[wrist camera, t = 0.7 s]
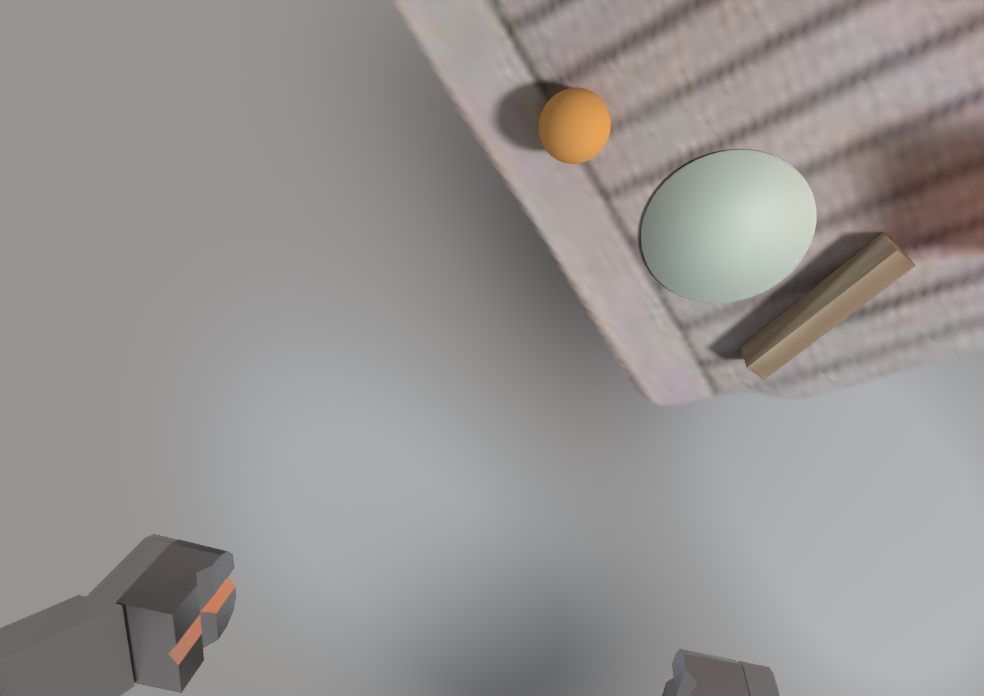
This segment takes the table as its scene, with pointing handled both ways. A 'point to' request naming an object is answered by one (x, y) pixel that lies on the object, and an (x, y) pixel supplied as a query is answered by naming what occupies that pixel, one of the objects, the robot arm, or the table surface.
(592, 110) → the ball
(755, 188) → the disc
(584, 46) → the table surface
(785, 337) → the bar
